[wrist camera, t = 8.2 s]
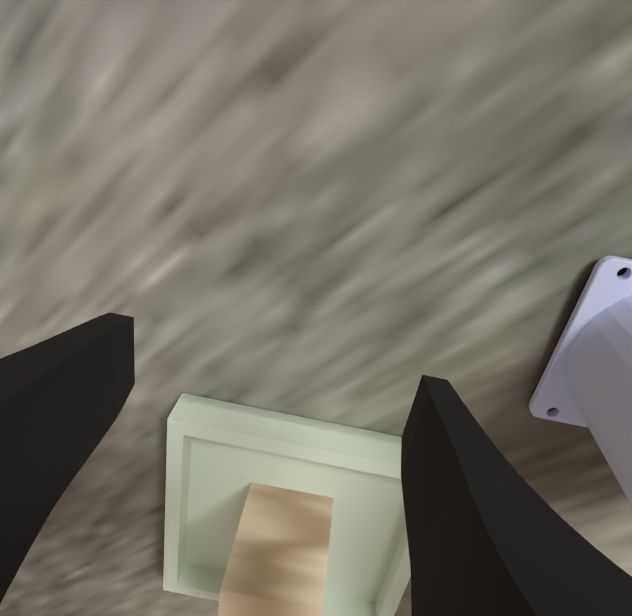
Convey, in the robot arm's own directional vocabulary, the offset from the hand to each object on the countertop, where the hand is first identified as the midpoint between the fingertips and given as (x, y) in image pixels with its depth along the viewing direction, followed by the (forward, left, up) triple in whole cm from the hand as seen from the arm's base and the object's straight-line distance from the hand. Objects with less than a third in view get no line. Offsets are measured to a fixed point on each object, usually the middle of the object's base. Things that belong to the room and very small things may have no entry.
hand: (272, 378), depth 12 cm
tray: (-2, +16, -9) cm, 19 cm away
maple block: (-1, +16, -9) cm, 18 cm away
